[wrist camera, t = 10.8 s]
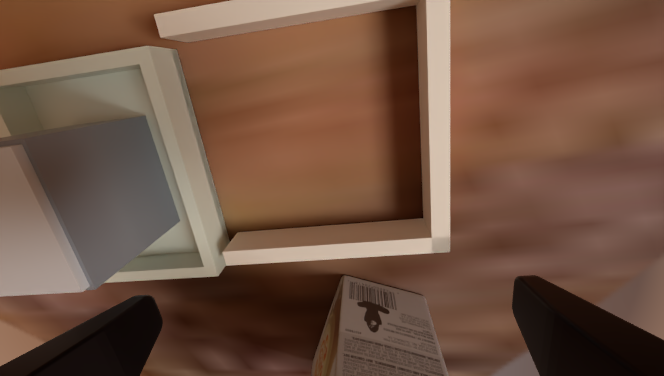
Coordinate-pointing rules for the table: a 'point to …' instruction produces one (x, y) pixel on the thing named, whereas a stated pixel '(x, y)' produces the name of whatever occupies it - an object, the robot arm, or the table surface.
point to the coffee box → (377, 334)
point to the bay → (434, 98)
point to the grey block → (79, 205)
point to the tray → (167, 131)
